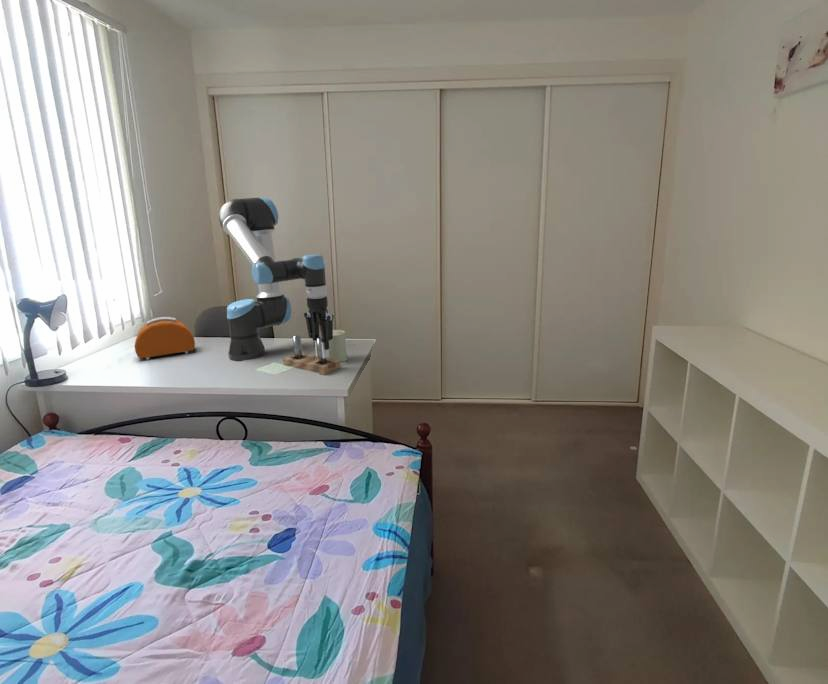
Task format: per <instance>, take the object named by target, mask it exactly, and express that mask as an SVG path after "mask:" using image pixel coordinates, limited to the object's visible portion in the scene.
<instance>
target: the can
mask: <svg viewBox="0 0 828 684" xmlns="http://www.w3.org/2000/svg"><path fill="white" fill-rule="evenodd" d="M346 345H347V344H346V331H345V330H343V329H333V339H332V340H329V349H328V350H329V357H327V358H329V359H334V360H339V361H340V363H341V362H346V361H347V360H348V357H347V356H348V355H347V346H346Z"/></svg>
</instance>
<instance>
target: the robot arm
mask: <svg viewBox="0 0 828 684" xmlns="http://www.w3.org/2000/svg"><path fill="white" fill-rule="evenodd" d="M276 206H277V205H276V204H275V203H274V202H273V200H271V199H270V198H269V197H250V198H249V197H248V198H247V197H246V198H232V199H229V200H227V201H226V202H225V203H223V205H222V206H221V208H220V210H219V214H218V222H219V225H220V227H221V229H222V231H224V233H225V234H226V235H229V236H230V237H231V238H232V239H233V241H234V243H235V244H236V245H237V247H238V249H240V250H241V253H242V254H243V255H244V257H245V258H246V259H247V261H248V263H249V264H250V265H251V277H252V278H253V281H254V282H255V284H257V285H258V286H257V287H258V292H259V293H258V294H257V295H256V301H255V300H254V299H252V298H246V299H241V300H237V301H234V302H231V303H230V304H229V305H227V307H226V318H227V323H228V330H229V336H230V341H229V342H230V343H229V347H228V352H227V353H228V359H230V360H231V361H238V362H239V361H240V362H241V361H249V360H252V359H253V360H254V359H257V358H261V357H263V356H264V355H266V347H265V345H264V343H263V341H262V339H261V337H260V332H259V331H260V329H265V328H269V327H274V326H280V325H283V324H286V323H288V322H289V321H290V319H291V316H292V304H291V301H290V300H289V298H288V297H287V296H285V293H284V292H283V291H281V289H280V284H279V283H280V282H288V281H294V280H304V286H305V295H306V297H307V298H306V306H307V308H308V311H307V312H304V313H303V316H304V318H305V324H306V327H307V333H308V338H309V339H312V341H313V347H314V350H315V356H316V357H318V347H317V338H318V337H320V335H321V337H322V339H323V341H322V342H321V345H322V355H323V358H327V357H329V350H328V349H329V340H332V339H333V330H334V327H333V326H334V324H333V321H334V318H335V315H334V314H330V313H329V311H328V309H327V307H328V305H329V302H328V297H327V296H328V290H327V284H326V283H327V282H326V267H325V262H324V257H323V255H322V254H320V253H316V254H315V253H313V254H311V253H310V254H305V255H303V256H302V257H301V258H300V257H292V258H290V259H285V260H278V261H276V256H275V250H274V243H273V235H272V234H273V233H274V231H275V227H276V225H278V222H279V212H278V209H277V207H276ZM320 333H321V334H320Z"/></svg>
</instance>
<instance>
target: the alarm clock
mask: <svg viewBox="0 0 828 684" xmlns="http://www.w3.org/2000/svg"><path fill="white" fill-rule="evenodd" d="M194 337H195V336H194V334H193V332H192V330H190V328H189V327H188V326H187V325H186V324H185V323H184V322H181V321H179V320H177V318H176V317H171V316H160V317H155V318H153V319H152V318H151V319H149V320H148V321H146V324H145V325H144V326H142V327H141V328H140V330H139V331H138V333H137V336H136V338H135V341H134V350H135V354H136V356H137V357H138V358H140V359H146V360H147V361H150V358H152V357H158V356H165V355H173V354H178V353H185V355H187V354H189V352H190V351H191V352H193V350H194V349H195V348H196V342H195V338H194Z"/></svg>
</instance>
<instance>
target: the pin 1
mask: <svg viewBox="0 0 828 684" xmlns="http://www.w3.org/2000/svg"><path fill="white" fill-rule="evenodd" d="M292 341H293V351H294V354H295V359H298V360H300V359H302V358H303V354H304V353H303V347H302V337H301V334H293V335H292ZM302 353H303V354H302Z"/></svg>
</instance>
